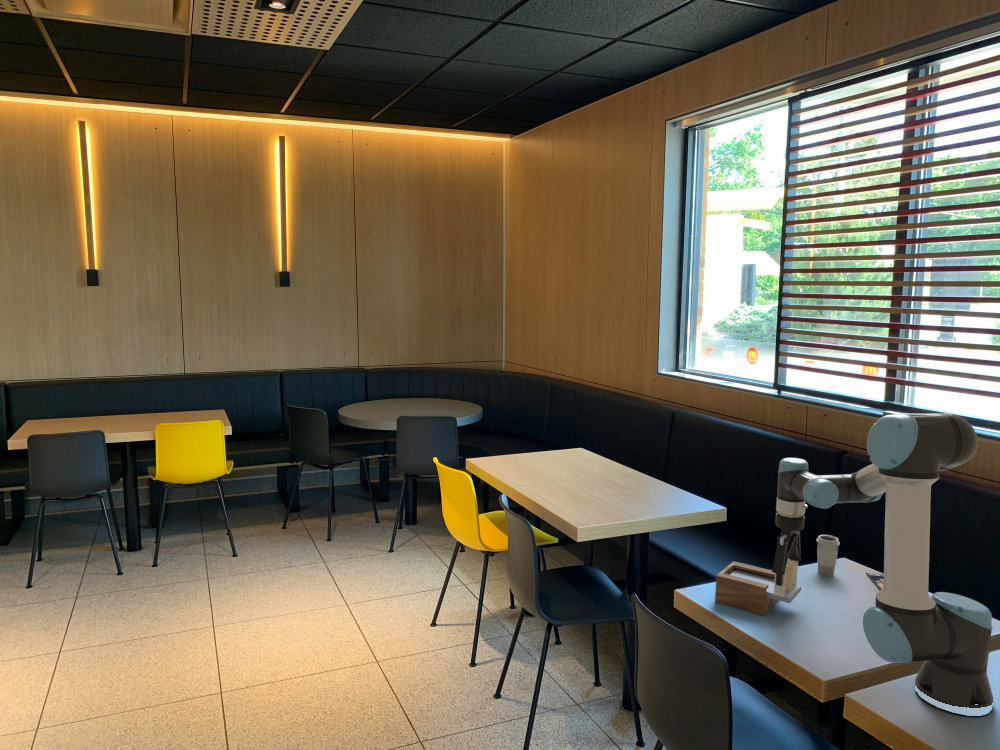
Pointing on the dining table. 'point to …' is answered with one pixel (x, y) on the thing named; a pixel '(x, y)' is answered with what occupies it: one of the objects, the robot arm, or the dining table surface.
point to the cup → (827, 554)
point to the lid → (790, 587)
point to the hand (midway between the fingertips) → (785, 588)
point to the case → (743, 589)
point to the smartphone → (877, 579)
